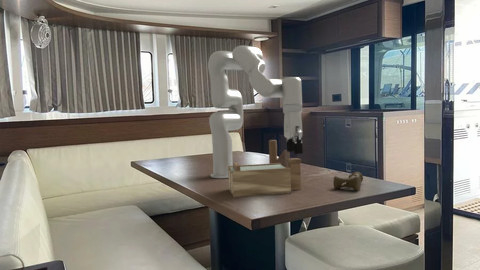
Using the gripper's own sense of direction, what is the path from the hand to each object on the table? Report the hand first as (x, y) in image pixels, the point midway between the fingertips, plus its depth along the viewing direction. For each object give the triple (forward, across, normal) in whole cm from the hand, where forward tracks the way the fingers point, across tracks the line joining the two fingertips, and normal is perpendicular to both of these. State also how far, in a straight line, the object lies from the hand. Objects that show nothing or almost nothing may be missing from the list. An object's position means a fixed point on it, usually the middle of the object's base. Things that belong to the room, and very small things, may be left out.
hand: (294, 152), depth 146 cm
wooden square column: (+15, -1, 0) cm, 15 cm away
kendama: (+15, +4, +21) cm, 26 cm away
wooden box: (+14, -1, -15) cm, 21 cm away
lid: (+6, -1, -15) cm, 16 cm away
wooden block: (+14, -19, -2) cm, 24 cm away
